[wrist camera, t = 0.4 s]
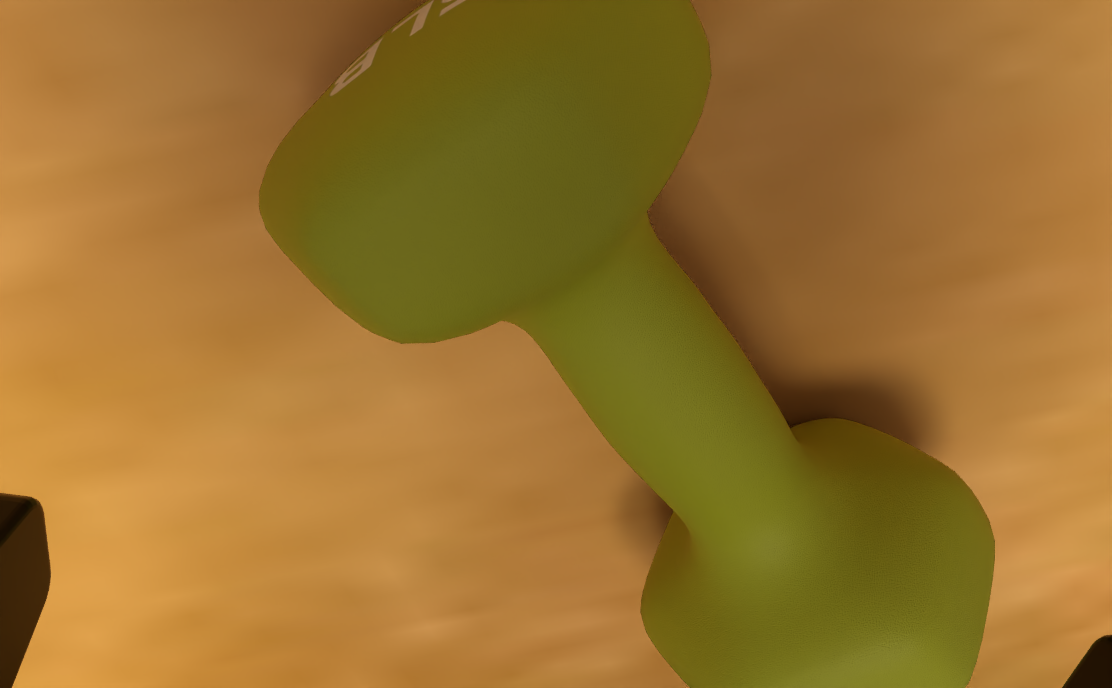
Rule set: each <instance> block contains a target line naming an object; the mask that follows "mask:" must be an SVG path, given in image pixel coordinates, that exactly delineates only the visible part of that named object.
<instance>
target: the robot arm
mask: <svg viewBox="0 0 1112 688" xmlns="http://www.w3.org/2000/svg"><path fill="white" fill-rule="evenodd" d="M50 578H51V569H50V560H49V552H48V543H47V535H46V526H45V518H44V512H43V508H42V506H41V504H40V502H39V501H38V500H37V499H34V498H32V497H28V496H20V495H12V494H5V493H0V688H12V686H13V684H14V681H15V678H16V676H17V673H18V671H19V668H20V666H21V663H22V661H23V658H24V655H25V653H26V650H27V648H28V645H29V643H30V640H31V638H32V635H33V632H34V630H35V627H36V625H37V622H38V620H39V617H40V615H41V612H42V609H43V607H44V604H45V601H46V599H47V595H48V591H49V586H50ZM1062 688H1112V635H1106V636H1103V637H1101V638H1099V639H1098V640H1096V641H1095V642H1094V643H1093V644H1092V646H1091V647H1090V649H1089V650H1088V652H1087V653H1086V654H1085V656H1084V657H1083V659H1082V660H1081V661H1080V663H1079V664H1078V666H1077V667H1076V669H1075V670H1074V671H1073V673H1072V674H1071V676H1070V677H1069V678H1068V680H1067V681H1066V683H1065V684H1064V686H1063V687H1062Z"/></svg>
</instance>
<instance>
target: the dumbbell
mask: <svg viewBox="0 0 1112 688" xmlns="http://www.w3.org/2000/svg"><path fill="white" fill-rule="evenodd" d="M710 80H711V63H710V51H709V43H708V40H707V38H706V35H705V32H704V29H703V26H702V24H701V21H700V19H699V17H698V15H697V13H696V11H695V9H694V7H693V5H692V4H691V2H690V0H428V1H426V2H425V3H423V4H422V5H421V6H419V7H418V8H416V9H415V10H414V11H412V12H411V13H410V14H408V15H407V16H406V17H404V18H403V19H402V20H401V21H399V22H398V23H397V24H396V25H394V26H393V27H392V28H390V29H389V30H388V31H387V32H386V33H385V34H383V35H382V36H381V37H380V38H379V39H378V40H376V41H375V42H374V43H373V44H372V45H371V46H370V47H368V48H367V49H366V50H365V51H364V52H363V53H362V54H361V55H360V56H359V57H358V58H357V59H356V60H355V61H354V62H353V63H352V64H351V65H350V66H349V67H348V68H347V69H346V70H345V71H344V72H343V73H342V74H341V75H340V76H339V77H338V78H337V80H336V81H335V82H334V83H333V84H332V85H331V86H330V87H329V88H328V89H327V90H326V92H325V93H324V94H323V95H322V96H321V97H320V98H319V99H318V100H317V101H316V102H315V103H314V104H313V106H312V107H311V108H310V109H309V110H308V111H307V112H306V113H305V114H304V115H303V116H302V117H301V118H300V119H299V120H298V122H297V123H296V124H295V125H294V127H293V128H292V129H291V130H290V131H289V133H288V134H287V135H286V137H285V138H284V139H283V140H282V142H281V143H280V145H279V146H278V148H277V150H276V151H275V153H274V155H273V157H272V159H271V160H270V162H269V164H268V166H267V169H266V172H265V175H264V178H263V181H262V184H261V188H260V191H259V209H260V213H261V216H262V219H263V222H264V225H265V228H266V229H267V231H268V232H269V234H270V235H271V236H272V238H273V239H274V241H275V242H276V243H277V245H278V246H279V247H280V249H281V250H282V251H283V252H284V253H285V254H286V255H287V256H288V257H289V259H290V260H291V261H292V262H293V263H294V264H295V265H296V266H297V267H298V268H299V269H300V270H301V271H302V273H303V274H304V275H305V276H306V277H307V278H308V279H309V280H310V281H311V282H312V283H313V284H314V285H315V286H316V287H317V288H318V289H319V290H320V291H321V292H322V293H323V294H324V295H325V296H326V297H327V298H328V299H329V300H330V301H331V302H332V303H333V304H334V305H335V306H336V307H338V308H339V309H340V310H342V311H343V312H344V313H345V314H347V315H348V316H349V317H350V318H352V319H353V320H354V321H356V322H357V323H358V324H360V325H361V326H362V327H364V328H365V329H367V330H369V331H371V332H372V333H374V334H377V335H379V336H382V337H384V338H387V339H389V340H392V341H395V342H398V343H401V344H404V343H435V342H439V341H443V340H447V339H451V338H455V337H459V336H463V335H467V334H471V333H473V332H476V331H478V330H481V329H483V328H486V327H488V326H490V325H493V324H495V323H497V322H500V321H507V322H510V323H513V324H515V325H517V326H518V327H520V328H522V329H523V330H525V331H526V332H527V333H528V334H529V335H530V336H531V337H532V338H533V339H534V340H535V341H536V343H537V344H538V345H539V346H540V348H541V349H542V350H543V351H544V353H545V354H546V356H547V357H548V358H549V360H550V361H551V363H552V364H553V366H554V367H555V369H556V370H557V372H558V373H559V375H560V376H561V378H562V379H563V380H564V382H565V383H566V385H567V386H568V387H569V389H570V390H571V392H572V393H573V394H574V396H575V397H576V399H577V400H578V401H579V403H580V404H581V405H582V407H583V408H584V410H585V411H586V412H587V414H588V415H589V417H590V418H591V419H592V421H593V422H594V424H595V425H596V426H597V428H598V429H599V430H600V432H601V433H602V434H603V436H604V437H605V438H606V440H607V441H608V442H609V443H610V445H611V446H612V447H613V448H614V449H615V450H616V451H617V452H618V454H619V455H620V456H621V457H622V458H623V459H624V460H625V461H626V462H627V463H628V464H629V465H630V466H631V467H632V469H633V470H634V471H635V472H636V473H637V474H638V475H639V476H640V477H641V478H642V479H643V480H644V481H645V482H646V483H647V484H648V485H649V486H650V487H651V488H652V489H653V490H654V491H655V493H656V494H657V495H658V496H659V497H660V498H662V499H663V500H664V501H665V502H666V503H667V504H668V505H669V507H670V508H671V509H672V510H673V513H672V515H671V518H670V520H669V522H668V525H667V527H666V529H665V532H664V534H663V536H662V539H661V541H660V544H659V546H658V549H657V551H656V554H655V556H654V559H653V562H652V564H651V567H650V570H649V573H648V576H647V579H646V582H645V586H644V590H643V594H642V599H641V611H640V612H641V616H642V620H643V623H644V627H645V630H646V632H647V634H648V636H649V637H650V639H651V641H652V642H653V644H654V645H655V647H656V648H657V650H658V651H659V653H660V654H661V655H662V656H663V657H664V659H665V660H666V661H667V662H668V664H669V665H670V666H671V667H672V668H673V669H674V671H675V672H676V673H677V674H678V675H679V676H680V677H681V679H682V680H683V681H684V682H685V683H686V684H687V685H688V686H689V687H690V688H965V687H966V686H967V684H968V682H969V681H970V678H971V676H972V673H973V670H974V667H975V664H976V662H977V658H978V654H979V650H980V646H981V642H982V638H983V633H984V627H985V622H986V617H987V612H988V606H989V600H990V593H991V587H992V580H993V571H994V561H995V540H994V536H993V533H992V529H991V525H990V522H989V519H988V517H987V515H986V513H985V511H984V510H983V508H982V506H981V504H980V502H979V501H978V499H977V498H976V496H975V495H974V493H973V492H972V490H971V489H970V488H969V487H968V486H967V484H966V483H965V482H964V481H963V480H962V479H961V478H960V477H959V476H958V475H957V474H956V472H955V471H953V470H952V469H950V468H949V467H947V466H946V465H944V464H943V463H942V462H940V461H938V460H936V459H935V458H933V457H931V456H929V455H927V454H926V453H924V452H922V451H920V450H919V449H917V448H915V447H913V446H912V445H910V444H908V443H906V442H903V441H901V440H899V439H897V438H895V437H893V436H891V435H889V434H887V433H884V432H882V431H879V430H877V429H874V428H872V427H869V426H866V425H863V424H860V423H857V422H854V421H850V420H846V419H842V418H825V419H818V420H813V421H808V422H805V423H802V424H799V425H796V426H793V427H791V428H789V426H788V424H787V422H786V420H785V418H784V416H783V415H782V413H781V411H780V409H779V407H778V406H777V404H776V403H775V401H774V399H773V398H772V396H771V395H770V393H769V392H768V390H767V389H766V387H765V385H764V384H763V382H762V381H761V379H760V378H759V376H758V374H757V373H756V371H755V370H754V368H753V366H752V365H751V363H750V362H749V360H748V359H747V357H746V355H745V354H744V352H743V351H742V349H741V348H740V346H739V345H738V343H737V342H736V340H735V339H734V338H733V336H732V335H731V334H730V332H729V331H728V329H727V328H726V327H725V325H724V324H723V323H722V321H721V320H720V319H719V317H718V316H717V315H716V313H715V312H714V311H713V309H712V308H711V307H710V305H709V304H708V302H707V301H706V300H705V298H704V297H703V295H702V294H701V293H700V291H699V290H698V289H697V287H696V286H695V285H694V283H693V282H692V281H691V279H690V278H689V277H688V276H687V275H686V273H685V272H684V271H683V270H682V269H681V267H680V266H679V265H678V264H677V263H676V261H675V260H674V259H673V258H672V257H671V255H670V254H669V253H668V252H667V250H666V249H665V248H664V246H663V245H662V243H661V242H660V241H659V239H658V238H657V236H656V234H655V232H654V230H653V228H652V226H651V224H650V221H649V217H648V214H647V210H648V209H649V208H650V206H651V205H652V203H653V202H654V201H655V199H656V198H657V196H658V195H659V193H660V192H661V190H662V189H663V187H664V186H665V184H666V182H667V181H668V179H669V178H670V176H671V174H672V173H673V171H674V169H675V168H676V166H677V164H678V162H679V160H680V158H681V156H682V154H683V152H684V150H685V148H686V146H687V144H688V142H689V140H690V138H691V136H692V134H693V132H694V130H695V128H696V126H697V123H698V121H699V118H700V116H701V114H702V111H703V107H704V103H705V100H706V96H707V92H708V88H709V84H710Z"/></svg>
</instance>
